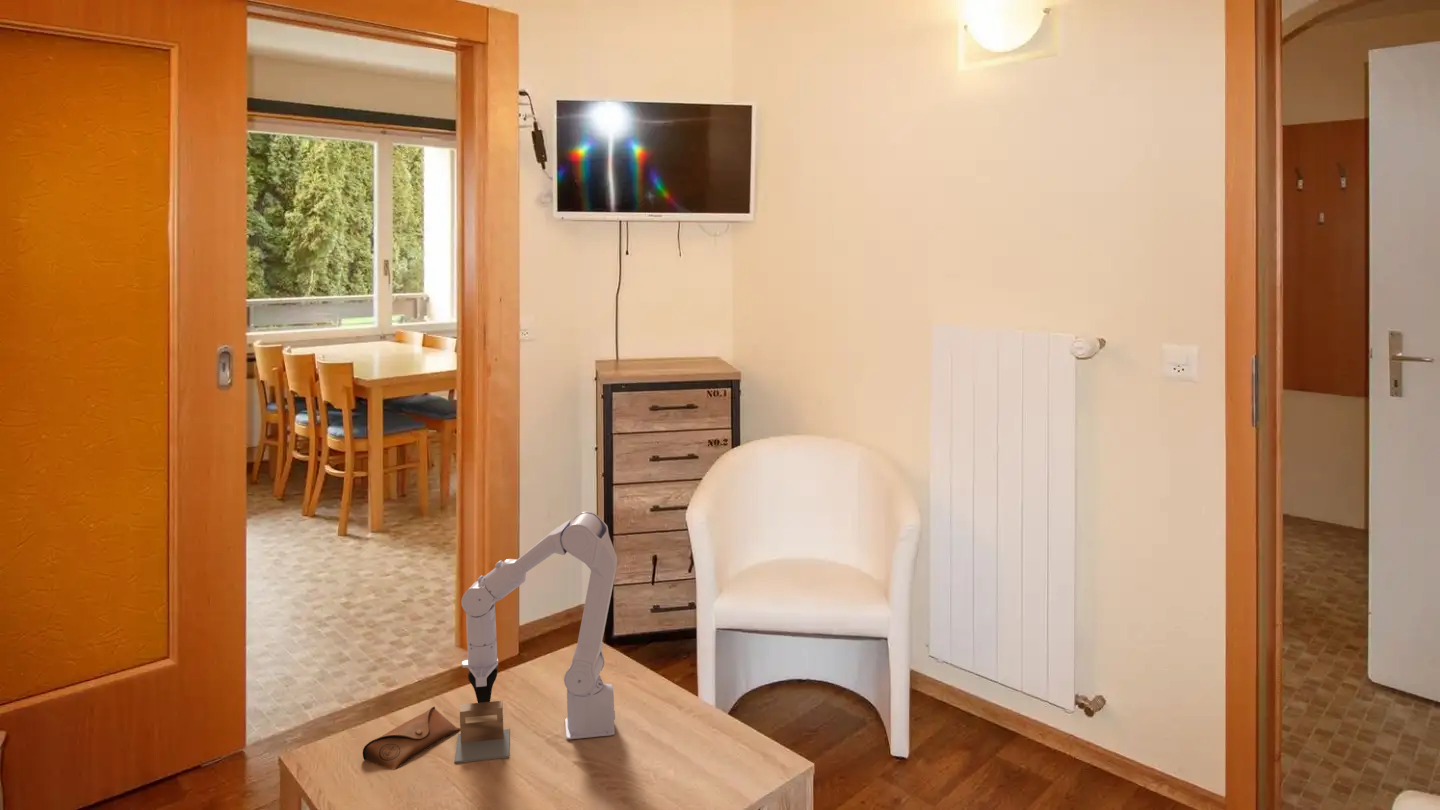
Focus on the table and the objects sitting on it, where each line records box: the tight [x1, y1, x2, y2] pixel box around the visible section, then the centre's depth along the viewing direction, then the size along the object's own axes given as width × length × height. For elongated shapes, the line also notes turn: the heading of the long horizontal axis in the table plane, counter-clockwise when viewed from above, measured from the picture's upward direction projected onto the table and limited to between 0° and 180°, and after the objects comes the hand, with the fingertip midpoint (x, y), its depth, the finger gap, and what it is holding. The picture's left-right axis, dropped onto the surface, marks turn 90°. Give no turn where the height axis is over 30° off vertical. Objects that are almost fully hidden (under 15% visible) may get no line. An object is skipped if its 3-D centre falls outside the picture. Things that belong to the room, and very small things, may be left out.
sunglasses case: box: [362, 706, 460, 771], centre depth 178 cm, size 18×7×7 cm, turn 151°
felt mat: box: [453, 728, 511, 764], centre depth 177 cm, size 10×10×1 cm
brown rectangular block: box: [459, 700, 504, 743], centre depth 180 cm, size 8×3×6 cm, turn 102°
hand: (484, 703), depth 185 cm, fingers closed
